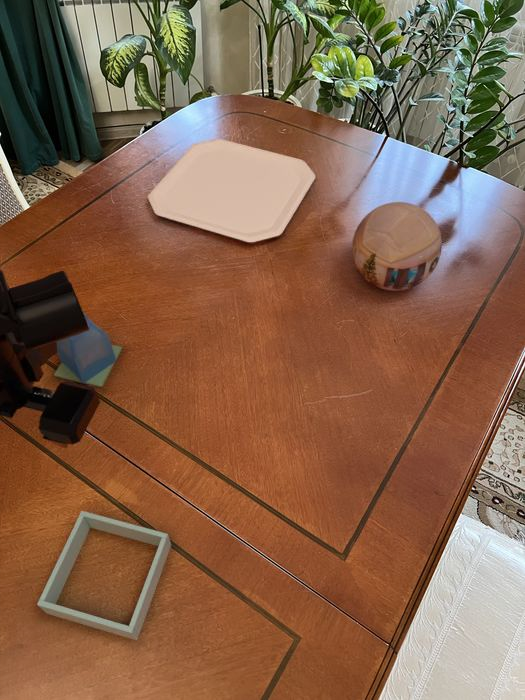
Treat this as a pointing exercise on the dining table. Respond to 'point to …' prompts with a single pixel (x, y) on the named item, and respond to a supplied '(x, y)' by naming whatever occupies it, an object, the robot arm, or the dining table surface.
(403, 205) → the ornament
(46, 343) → the robot arm
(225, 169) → the plate
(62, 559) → the square frame
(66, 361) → the perfume bottle
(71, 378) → the mat
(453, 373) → the dining table surface
